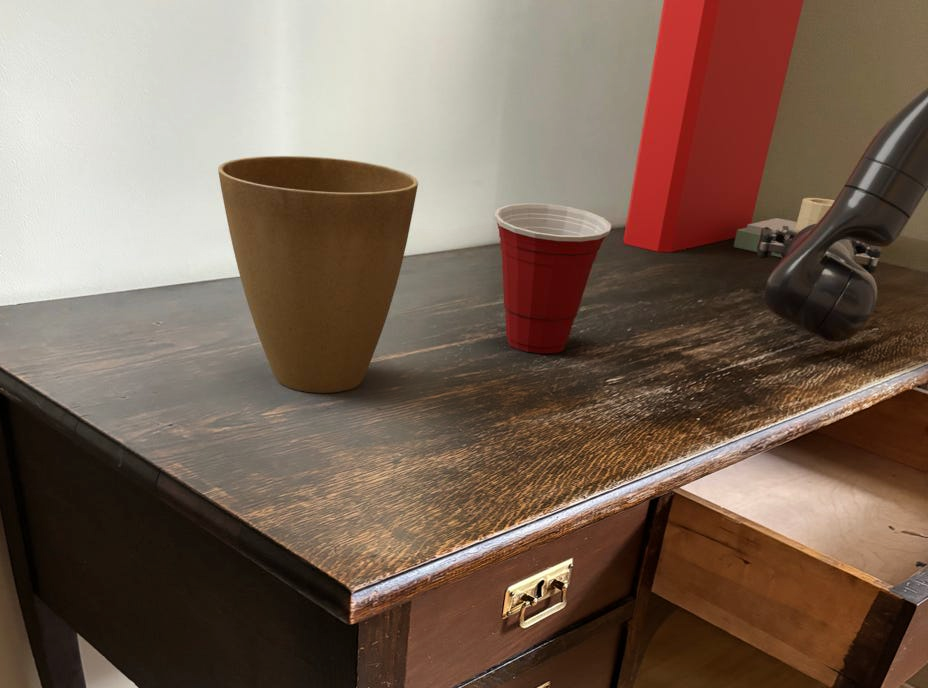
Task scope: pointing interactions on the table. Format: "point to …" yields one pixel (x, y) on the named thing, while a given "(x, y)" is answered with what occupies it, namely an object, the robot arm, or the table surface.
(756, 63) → the book
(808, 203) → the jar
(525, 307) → the plastic cup
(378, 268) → the plant pot
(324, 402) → the table surface
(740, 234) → the scale
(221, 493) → the table surface
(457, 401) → the table surface
